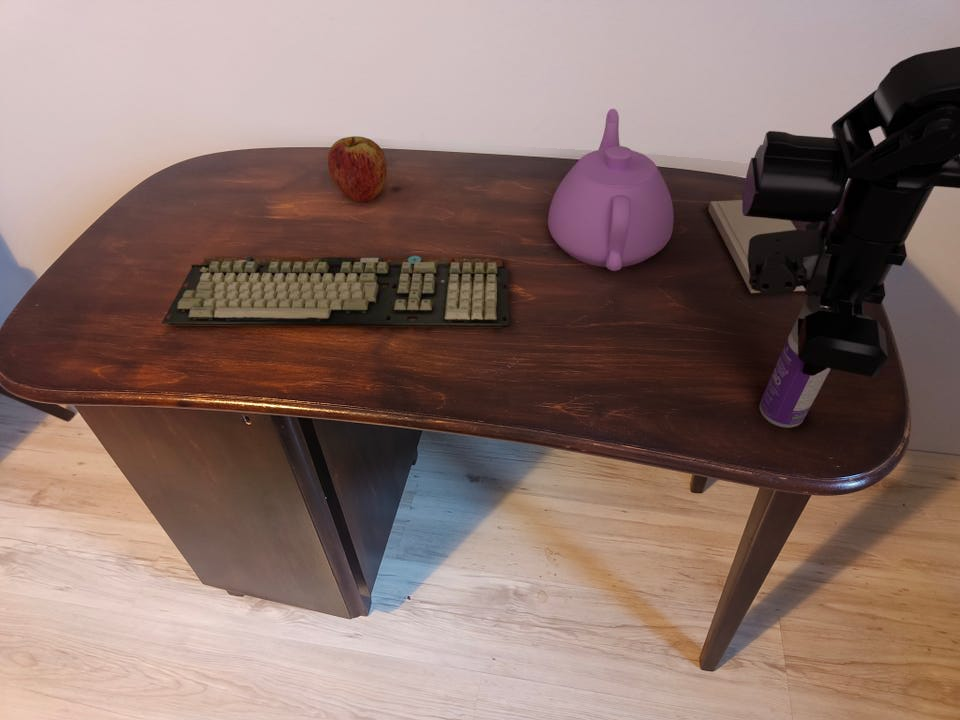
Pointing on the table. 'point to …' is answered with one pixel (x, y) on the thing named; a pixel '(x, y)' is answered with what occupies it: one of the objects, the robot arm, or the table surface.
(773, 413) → the container
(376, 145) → the apple
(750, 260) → the robot arm
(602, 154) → the teapot
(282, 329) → the table surface
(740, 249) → the tile
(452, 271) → the keyboard
